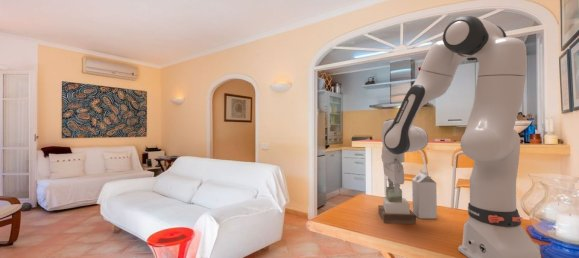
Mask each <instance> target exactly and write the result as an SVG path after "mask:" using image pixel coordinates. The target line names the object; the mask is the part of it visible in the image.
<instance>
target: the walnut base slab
mask: <svg viewBox="0 0 579 258" xmlns="http://www.w3.org/2000/svg"><path fill="white" fill-rule="evenodd" d="M377 207H378V209H377V210H378V215H379V216H380V218H381V220H382V222H383V224H396V225H398V224H399V225H417V216H416V215H415V214H414V213H413V210H412V209H410V215H409V214H389V213H386V212H385V210H384V207H383V204H382V205H381V204H378V206H377Z"/></svg>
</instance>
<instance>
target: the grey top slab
mask: <svg viewBox="0 0 579 258" xmlns="http://www.w3.org/2000/svg"><path fill="white" fill-rule="evenodd" d="M382 205H383V207H384V210H385V212H386V213H389V214H409V215H410V210H411V205H410V203H409V201H408V200H407V199H406V198H405V197H402V202H389V201H388V200H387V199H386V196H385V197H383V196H382Z"/></svg>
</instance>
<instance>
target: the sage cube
mask: <svg viewBox="0 0 579 258" xmlns="http://www.w3.org/2000/svg"><path fill="white" fill-rule="evenodd" d="M385 194H386V195H385V197H386V199H387V200H388V201H389V202H402V198H403V190H402V189H401V188H399V193H398V194H395V193H394V187H389V186H386V187H385Z"/></svg>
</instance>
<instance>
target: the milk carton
mask: <svg viewBox="0 0 579 258" xmlns="http://www.w3.org/2000/svg"><path fill="white" fill-rule="evenodd" d="M411 183H412V186H411V188H412V189H411V190H412V195H411V196H412V212H413V213H414V214H415V215H416V218H418V219H431V220H432V219H436V220H437V218H438V213H437V209H438V206H437V203H438V202H437V199H438V198H437V197H438V196H437V182H436V181H435V180H433V178H431V177H430V176H429V173H428V172H427V171H426V172H425V171H424V170H422V169H420V171H419V173H418V174H416V175H415V176H414V177H413V178H412V180H411Z"/></svg>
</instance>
